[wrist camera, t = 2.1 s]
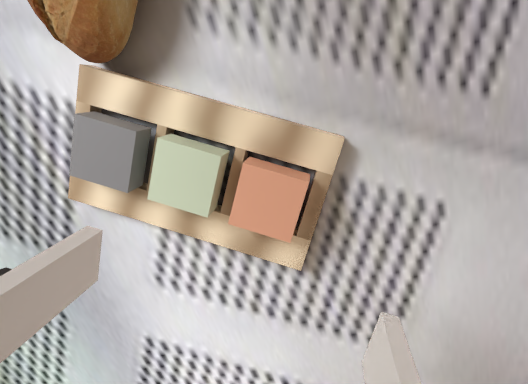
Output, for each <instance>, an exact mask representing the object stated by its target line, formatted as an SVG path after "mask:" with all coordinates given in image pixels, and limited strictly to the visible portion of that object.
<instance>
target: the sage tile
mask: <svg viewBox="0 0 528 384" xmlns="http://www.w3.org/2000/svg"><path fill="white" fill-rule="evenodd" d="M228 156H229V150H226V149H222V148H219V147H215V146H212V145H208V144H205V143H202V142H198V141H195V140H191V139H188V138H184V137H181V136H178V135H174V134H168V135H165V136H161V137H158V138H157V143H156V149H155V155H154V161H153V167H152V173H151V180H150V186H149V192H148V198H147V199H148V200H151V201H155V202H158V203H161V204H165V205H168V206H171V207H174V208H178V209H181V210H184V211H187V212H191V213H194V214H197V215H200V216H204V217H207V218H208V217H209V215H210V214H211V213H212V212H213V211H214V210H215V209H216V207H217V203H218V199H219V195H220V190H221V186H222V182H223V177H224V173H225V169H226V164H227V160H228Z"/></svg>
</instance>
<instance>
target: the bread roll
mask: <svg viewBox="0 0 528 384" xmlns="http://www.w3.org/2000/svg"><path fill="white" fill-rule="evenodd" d="M28 2H29V4H30V5H31V7H32V9H33V10H34V12H35V14H36V15H37V16H38V17H39V18H40V20H41V21H42V22H43V23H44V24H45V26H46V27H47V29H48V30H49V32H50V33H51V34H52V36H53V37H54V38H55V39H56V40H58V41H60V42H61V43H62V44H64V45H66V46H67V47H68V48H69V49H70V50H72V51H73V52H74V53H76V54H77V55H78V56H80V57H81V58H83V59H85V60H87V61H89V62H93V63H104V62H108V61H110V60H112V59H113V58H115V57H117V56H118V55H119V54H120V52H121V51H122V50H123V49H124V47H125V46H126V44H127V42H128V39H129V36H130V33H131V30H132V27H133V22H134V16H135V12H136V8H137V3H138V0H28Z"/></svg>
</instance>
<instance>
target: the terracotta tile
mask: <svg viewBox="0 0 528 384" xmlns="http://www.w3.org/2000/svg"><path fill="white" fill-rule="evenodd" d="M309 181H310V174H308V173H305V172H301V171H298V170H294V169H291V168H287V167H284V166H281V165H277V164H274V163H270V162H267V161H263V160H260V159H257V158H253V157H249V158H247V159H246V160H245V161H244V162H243V165H242V169H241V173H240V177H239V181H238V185H237V189H236V193H235V197H234V201H233V206H232V210H231V214H230V218H229V222H228V224H230V225H233V226H236V227H240V228H243V229H246V230H249V231H253V232H256V233H259V234H262V235H266V236H269V237H272V238H275V239H279V240H282V241H285V242H288V243H291V239H292V236H293V233H294V230H295V227H296V223H297V220H298V217H299V214H300V211H301V207H302V204H303V201H304V198H305V195H306V191H307V188H308V185H309Z"/></svg>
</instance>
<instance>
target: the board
mask: <svg viewBox="0 0 528 384" xmlns="http://www.w3.org/2000/svg"><path fill="white" fill-rule="evenodd" d="M102 108H103V109H106V110H110V111H113V112H116V113H120V114H123V115H127V116H130V117H134V118H137V119H141V120H144V121H147V122H151V123H154V124H157V129H156V135H155V141H154V147H153V154H152V160H151V166H150V172H149V179H148V183H145V182H143V185H142V186H140V187H138V188H136V189H134V190H132V191H131V192H129V193H125V192H122V191H119V190H116V189H112V188H109V187H106V186H103V185H99V184H96V183H93V182H90V181H86V180H83V179H80V178H77V177H73V176H70V182H69V194H68V198H69V199H72V200H76V201H79V202H82V203H85V204H88V205H92V206H95V207H98V208H101V209H104V210H108V211H111V212H114V213H117V214H120V215H124V216H127V217H130V218H133V219H137V220H140V221H143V222H146V223H149V224H153V225H156V226H159V227H162V228H165V229H169V230H172V231H175V232H178V233H181V234H185V235H188V236H191V237H194V238H197V239H201V240H204V241H207V242H210V243H213V244H217V245H220V246H223V247H226V248H230V249H233V250H236V251H239V252H242V253H246V254H249V255H252V256H255V257H258V258H262V259H265V260H268V261H271V262H274V263H278V264H281V265H284V266H287V267H290V268H294V269H297V270H300V271H301V269H302V266H303V263H304V260H305V257H306V254H307V251H308V248H309V245H310V242H311V239H312V236H313V233H314V230H315V227H316V224H317V221H318V218H319V215H320V212H321V209H322V206H323V203H324V200H325V197H326V194H327V191H328V188H329V185H330V182H331V179H332V176H333V173H334V170H335V167H336V164H337V161H338V158H339V155H340V152H341V149H342V146H343V143H344V140H345V139H344V136H341V135H338V134H334V133H330V132H327V131H323V130H320V129H316V128H313V127H309V126H306V125H302V124H298V123H295V122H291V121H288V120H284V119H281V118H277V117H274V116H270V115H266V114H263V113H259V112H256V111H252V110H249V109H245V108H242V107H238V106H234V105H231V104H227V103H224V102H220V101H217V100H213V99H210V98H206V97H202V96H199V95H195V94H192V93H188V92H185V91H181V90H178V89H174V88H170V87H167V86H163V85H160V84H156V83H153V82H149V81H146V80H142V79H138V78H135V77H131V76H128V75H124V74H121V73H117V72H114V71H110V70H107V69H103V68H99V67H96V66H92V65H81V64H80V66H79V78H78V89H77V101H76V112H75V113H84V112H94V111H95V112H99V113H102ZM174 129H175V130H179V131H182V132H185V133H189V134H192V135H196V136H199V137H203V138H206V139H210V140H213V141H216V142H220V143H223V144H227V145H230V146H234V147H236V148H235V153H234V157H233V161H232V165H231V170H230V174H229V178H228V182H227V187H226V191H225V195H224V199H223V204H222V206H221V205H217V207H216V209H215V210H214V211H213V212H212V213H211V214H210V215H209V217H208V218H207V217H204V216H200V215H197V214H194V213H191V212H187V211H184V210H181V209H178V208H174V207H171V206H168V205H165V204H161V203H158V202H155V201H151V200H148V199H147V198H148V192H149V186H150V180H151V173H152V167H153V161H154V155H155V149H156V143H157V138H158V137H161V136H165V135H168V134H174ZM249 151H251V152H254V153H258V154H261V155H265V156H268V157H272V158H275V159H279V160H282V161H285V162H289V163H292V164H296V165H299V166H303V167H306V168H310V169H313V170H316V172H315V175H314V178H313V182H312V185H311V188H310V191H309V194H308V197H307V201H306V204H305V207H304V210H303V213H302V216H301V220H300V223H299V226H298V229H296V228H295V230H294V233H293V236H292V239H291V243H288V242H285V241H282V240H279V239H275V238H272V237H269V236H266V235H262V234H259V233H256V232H253V231H249V230H246V229H243V228H240V227H236V226H233V225H230V224H228V222H229V218H230V214H231V210H232V206H233V201H234V197H235V193H236V189H237V185H238V181H239V177H240V173H241V169H242V165H243V162H244V161H245V160H246V159H247V156H248V152H249Z"/></svg>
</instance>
